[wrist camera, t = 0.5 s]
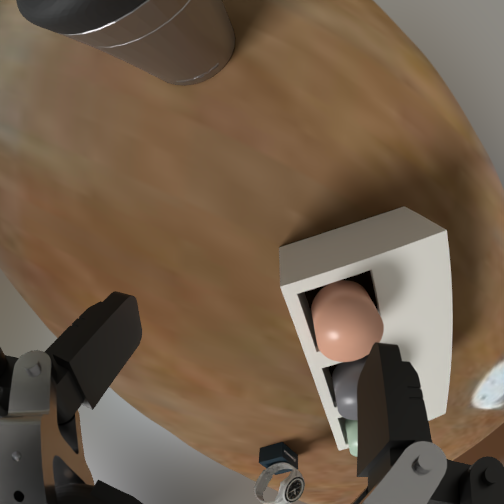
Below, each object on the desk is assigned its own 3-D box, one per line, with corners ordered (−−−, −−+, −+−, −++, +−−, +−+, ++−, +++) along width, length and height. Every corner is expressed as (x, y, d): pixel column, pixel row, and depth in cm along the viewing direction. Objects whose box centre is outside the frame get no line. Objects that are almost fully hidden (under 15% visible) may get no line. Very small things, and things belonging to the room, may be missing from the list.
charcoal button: (326, 363, 26) (332, 393, 22) (378, 347, 25) (390, 375, 21) (336, 396, 28) (342, 425, 24) (383, 382, 27) (393, 409, 23)
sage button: (341, 412, 28) (346, 440, 25) (385, 399, 27) (394, 426, 24) (348, 435, 30) (352, 461, 26) (387, 423, 29) (395, 448, 25)
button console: (279, 247, 31) (280, 286, 23) (404, 206, 29) (446, 229, 20) (331, 400, 38) (338, 450, 30) (423, 369, 36) (445, 413, 27)
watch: (307, 452, 43) (310, 504, 33) (267, 463, 45) (264, 513, 35) (292, 438, 42) (293, 494, 31) (250, 450, 44) (245, 503, 33)
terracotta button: (303, 291, 24) (308, 318, 20) (363, 272, 23) (378, 295, 19) (319, 339, 25) (325, 369, 21) (374, 322, 24) (387, 349, 21)
